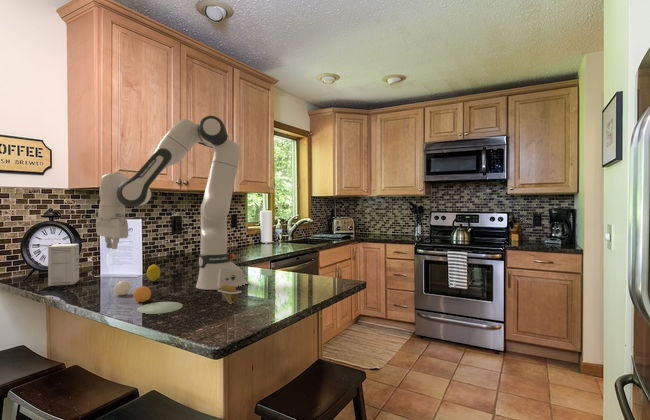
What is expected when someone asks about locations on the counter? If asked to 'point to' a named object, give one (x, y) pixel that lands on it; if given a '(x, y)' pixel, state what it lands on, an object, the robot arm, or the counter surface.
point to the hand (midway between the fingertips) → (111, 248)
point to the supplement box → (63, 264)
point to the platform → (229, 293)
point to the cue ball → (122, 288)
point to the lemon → (153, 272)
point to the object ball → (142, 294)
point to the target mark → (159, 307)
